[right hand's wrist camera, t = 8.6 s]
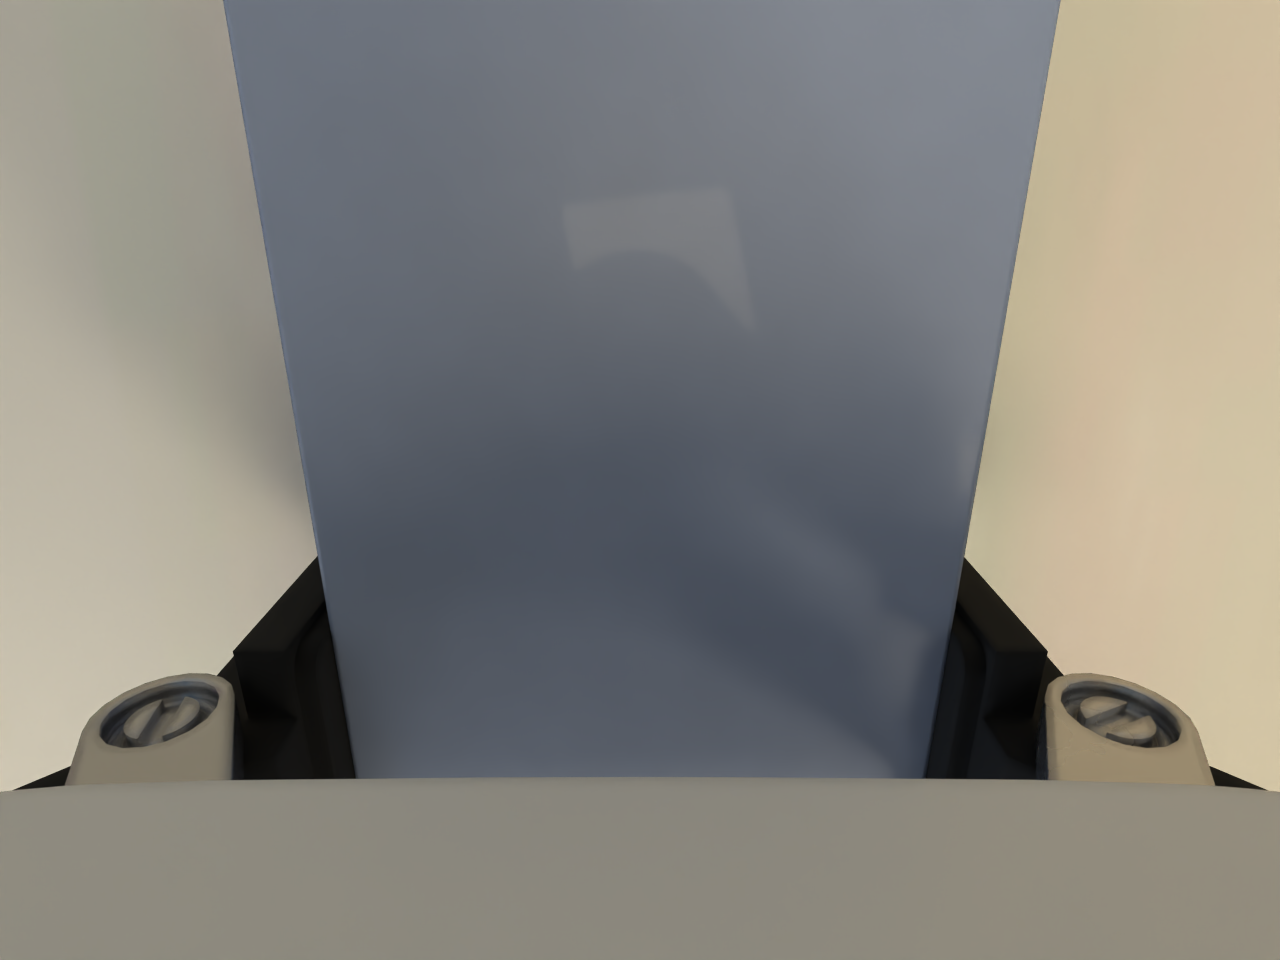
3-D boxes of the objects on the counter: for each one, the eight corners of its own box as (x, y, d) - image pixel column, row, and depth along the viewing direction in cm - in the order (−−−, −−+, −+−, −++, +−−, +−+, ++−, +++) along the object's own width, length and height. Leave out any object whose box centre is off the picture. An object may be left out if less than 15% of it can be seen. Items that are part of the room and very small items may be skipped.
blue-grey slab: (437, -162, 12) (82, -788, 4) (843, -161, 12) (1201, -785, 4) (501, 669, 18) (395, 1033, 10) (777, 669, 18) (883, 1033, 10)
